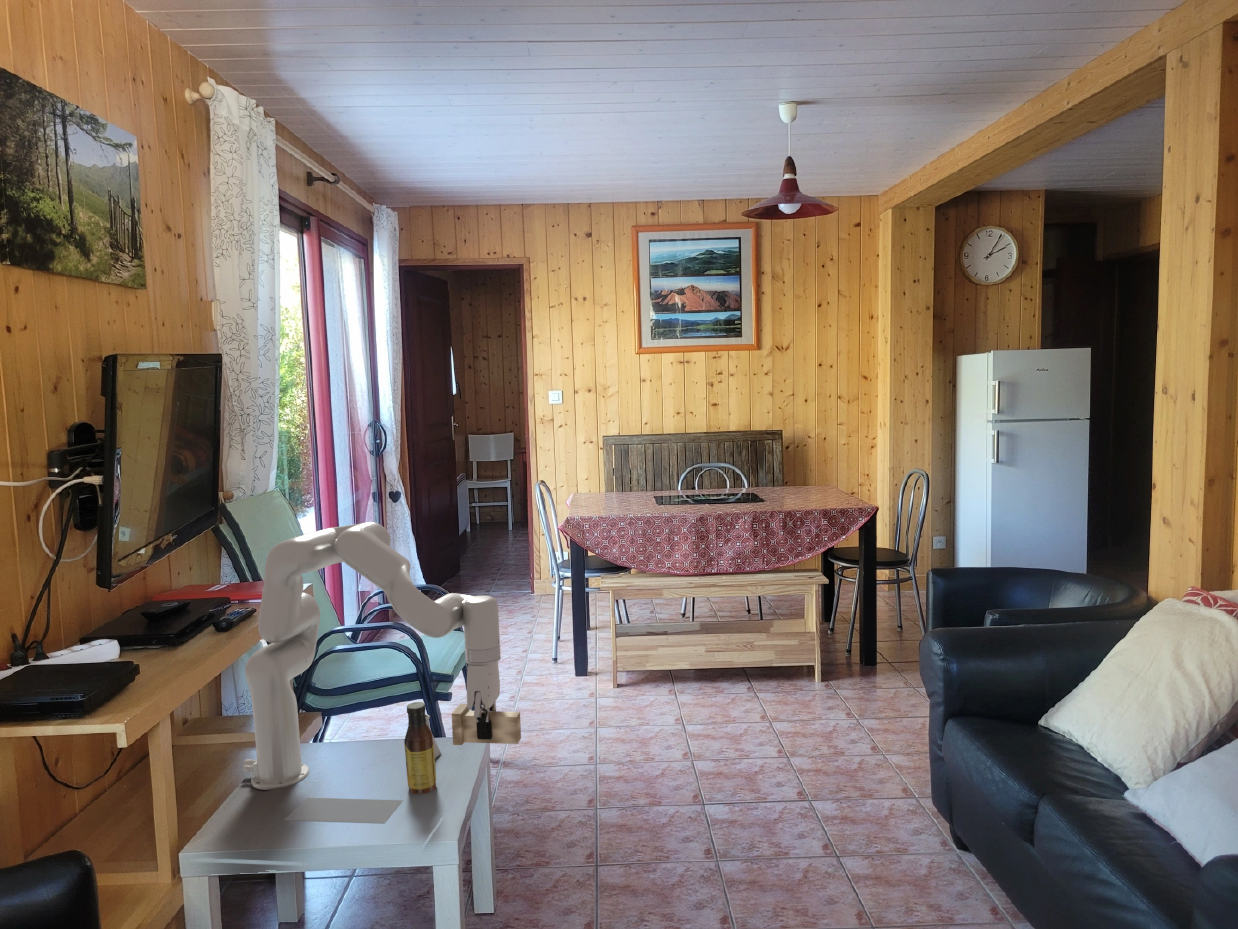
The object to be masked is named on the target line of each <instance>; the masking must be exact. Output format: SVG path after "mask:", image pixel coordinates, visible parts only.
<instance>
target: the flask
mask: <svg viewBox="0 0 1238 929" xmlns="http://www.w3.org/2000/svg"><path fill="white" fill-rule="evenodd" d="M425 718H426V724H427V725H428V726H429V728H430V730H431V731H432V729H431V726H430V719H431V715H430V714H426V713H425ZM432 738H433V745H434V757H435V759H436V758H438V757H439V756H440V755H441V754H442V752H441V749H440V748H439V745H438V743H437V741H436V739H435V737H434V735H433V733H432Z"/></svg>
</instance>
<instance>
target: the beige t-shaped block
mask: <svg viewBox="0 0 1238 929" xmlns="http://www.w3.org/2000/svg"><path fill="white" fill-rule="evenodd" d="M482 712H483V713H485V714H486V711H482ZM490 721H491V723H492V739H490V740H486V739H478V738H477V723H476V717H474V710H469V709H468V708H467V703H459V704H458V706H457V707H456V708H455V709H454V711H452V713H451V729H452V746H463V744H464V743H470V744H472V743H474V744H501V745H502V744H506V745H518V744H519V743H520V741H521V740H522V732H521V731H522V728H521V711H498V710H496V711H490Z"/></svg>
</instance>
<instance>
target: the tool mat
mask: <svg viewBox="0 0 1238 929" xmlns="http://www.w3.org/2000/svg"><path fill="white" fill-rule="evenodd" d="M403 801H404V800H403V799H402V800H401V799H400V800H399V799H371V798H370V799H368V798H367V799H363V798H338V797H337V798H333V797H332V798H331V797H307V798H305V799H304V801H303V802H302V803H300V804H299V805H298V806H297V807H296V808H295V809H294V810H293V811H292V812H291V813H290V814H289V815H288V816H287V817H286V818H285V819H284V821H290V822H291V821H292V822H294V821H298V822H323V823H325V822H328V823H354V824H355V823H356V824H357V823H358V824H363V823H364V824H386V822H387V821H388V820H389V819H390V818H391V816H392V815H393V814H394V812H396V811H397V809H398V807H399V806H400V805H401V804H402V803H403Z"/></svg>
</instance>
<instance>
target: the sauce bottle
mask: <svg viewBox="0 0 1238 929" xmlns="http://www.w3.org/2000/svg"><path fill="white" fill-rule="evenodd" d="M406 713H407V717H408V718H407V720H408V726H407V729H406V733H405V737H404V739H403V741H404V742H403V743H404V750H405V751H404V752H405V753H404V754H405V766H406V767H405V768H406V776H407V777H406V779H407V787H408V791H409V792H410V793H412V794H416V795H417V794H418V795H422V794H427V793H429V792H431V791H432V792H433V791H434V790H435V789H436V787H437V772H436V770H437V769H436V760H435V759H436V758H435V757H434V745H433V738H432V734H433V731H432V729H431V727H430V728H429V726H428V725H427V724H426V718H425V714H426V703H425V702H423V701H415V702H411V703H409V704H407V705H406ZM430 729H431V730H430Z"/></svg>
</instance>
